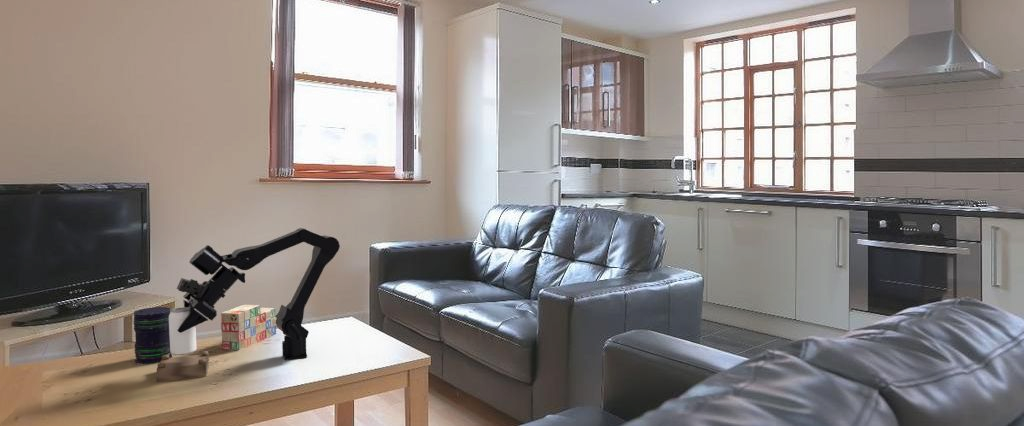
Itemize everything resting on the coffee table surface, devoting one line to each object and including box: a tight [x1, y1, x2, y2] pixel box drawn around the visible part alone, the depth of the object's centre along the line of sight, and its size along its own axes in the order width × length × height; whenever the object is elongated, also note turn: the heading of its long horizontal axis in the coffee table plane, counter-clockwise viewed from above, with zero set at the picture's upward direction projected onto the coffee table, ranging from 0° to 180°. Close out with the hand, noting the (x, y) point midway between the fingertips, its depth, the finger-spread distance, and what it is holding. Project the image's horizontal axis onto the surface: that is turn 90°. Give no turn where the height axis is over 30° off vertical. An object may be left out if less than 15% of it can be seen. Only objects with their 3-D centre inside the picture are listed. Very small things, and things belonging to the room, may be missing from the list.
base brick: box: [156, 350, 210, 382], centre depth 176 cm, size 12×10×4 cm
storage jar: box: [133, 306, 173, 365], centre depth 189 cm, size 10×10×15 cm
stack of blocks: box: [220, 304, 277, 351], centre depth 209 cm, size 21×6×12 cm, turn 170°
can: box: [169, 306, 197, 356], centre depth 174 cm, size 6×6×12 cm
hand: (177, 329), depth 173 cm, fingers closed on can, 6 cm apart
